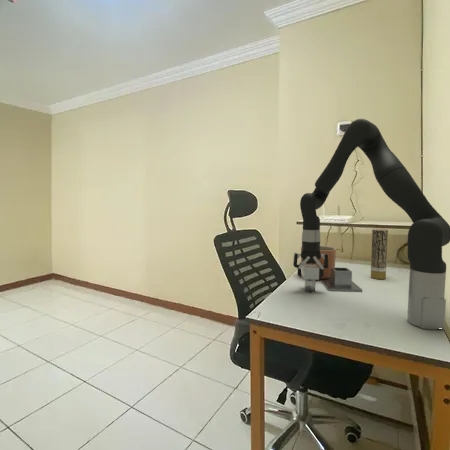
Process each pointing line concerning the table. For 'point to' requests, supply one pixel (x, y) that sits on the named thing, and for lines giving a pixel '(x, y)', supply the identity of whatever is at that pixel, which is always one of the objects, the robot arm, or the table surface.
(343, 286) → the duct socket
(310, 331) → the table surface
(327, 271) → the planter
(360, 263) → the table surface
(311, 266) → the silver block with cylinder
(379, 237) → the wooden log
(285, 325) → the table surface
